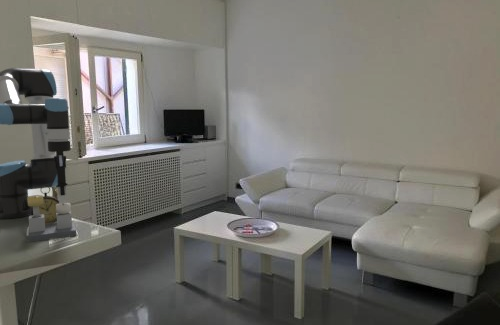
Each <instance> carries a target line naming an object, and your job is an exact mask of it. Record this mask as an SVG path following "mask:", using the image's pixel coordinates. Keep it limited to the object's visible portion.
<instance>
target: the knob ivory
mask: <svg viewBox="0 0 500 325" xmlns="http://www.w3.org/2000/svg"><path fill="white" fill-rule="evenodd" d="M71 205H72V204H71V203H70V202H67V203H65V204H56V213H58V214H61V215H65V214H67V213H69V212H71V213H72V208H71V207H72V206H71Z"/></svg>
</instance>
